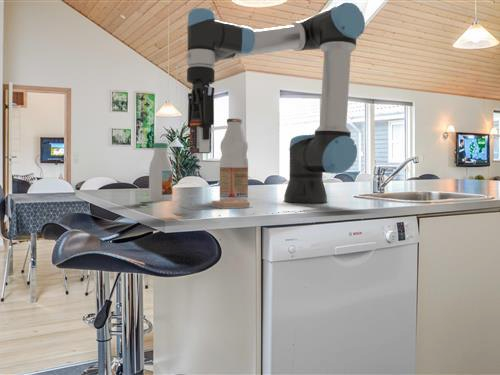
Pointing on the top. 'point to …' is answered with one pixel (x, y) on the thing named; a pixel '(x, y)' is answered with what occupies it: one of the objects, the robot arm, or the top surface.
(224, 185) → the fruit juice
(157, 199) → the milk bottle
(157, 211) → the top surface
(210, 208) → the mat
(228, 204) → the tile
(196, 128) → the supplement bottle
